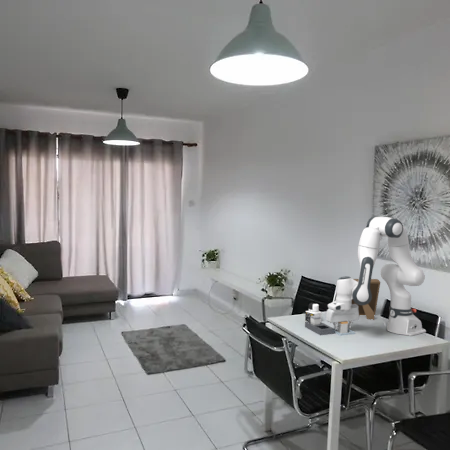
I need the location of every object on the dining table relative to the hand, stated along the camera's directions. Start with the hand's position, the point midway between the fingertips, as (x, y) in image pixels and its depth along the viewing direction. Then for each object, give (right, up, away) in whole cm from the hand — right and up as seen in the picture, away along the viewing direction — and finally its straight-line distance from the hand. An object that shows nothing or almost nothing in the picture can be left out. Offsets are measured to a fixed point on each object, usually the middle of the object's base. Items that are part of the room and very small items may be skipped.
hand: (342, 328), depth 240 cm
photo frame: (+23, -1, +37) cm, 43 cm away
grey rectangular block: (-14, -1, +7) cm, 16 cm away
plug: (0, -3, 0) cm, 3 cm away
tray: (0, -3, +1) cm, 3 cm away
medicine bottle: (-12, -2, +22) cm, 25 cm away
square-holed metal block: (-13, -3, +3) cm, 13 cm away
